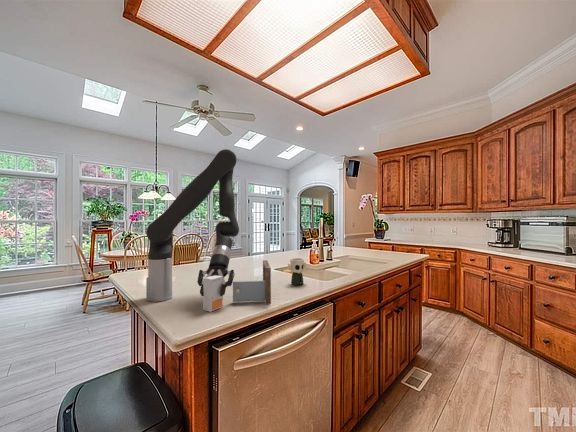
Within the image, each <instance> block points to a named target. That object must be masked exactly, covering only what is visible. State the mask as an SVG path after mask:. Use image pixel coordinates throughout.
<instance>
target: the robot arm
mask: <svg viewBox="0 0 576 432" xmlns="http://www.w3.org/2000/svg"><path fill="white" fill-rule="evenodd" d="M236 164H237V156H236V153H235V152H234V151H233V150H231V149H229V148H228V149H227V148H224V149H222V150H220V151H218V152H217V154H216V155H215V156H214V158H213V159H212V160H211V162H210V163H209V165H207V167H206V168H205V169H203V171H202V172H200V173H198V175H197V176H196V177H194V179H192V181H191V182H190V183H189V184H188V185H187V186H185V187H184V189H182V191H181V192H180V193H179V194H178V195H177V196H176V198H175V199H174V200H173V201H172V202H171V204H170V206H168V207H167V209H166V210H165V211H164V212H163V213H162V214H161V215H160V216H158V217H157V218H155V220H153V221H152V222H151V223H150V224H149V225H148V226H147V228H146V233H145V234H146V237H147V239H148V240H149V249H148V252H147V271H148V272H147V277H146V279H145V280H146V284H145V288H146V289H145V290H146V291H145V292H146V296H145V297H146V302H154V303H155V302H162V301H163V302H164V301H167V300H168V301H169V300H170V299H172V298H173V250H174V249H173V248H174V246H173V244H174V230H175V229H176V227H178V226H179V224H180V223H181V222H182V221H183V220H184V219H185V218H186V217H187V216H189V215H190V214H191V213H192V212H193V211H195V210H196V209H197V208H198V207H199V206H200V205H201V204H202V203H203V202H204V201H205V199H206V198H208V196H209V194H210V193H211V192H212V190H213V189H214V187H215V186H216V185H217V184H218V213H219V216H220V217H224V218H228V219H229V221H219V222H218V223H217V224H216V225H215V234H216V236H215V237H216V238H215V244H214V248H213V250H212V252H211V253H212V254H211V256H210V260H209V264H208V268H207V269H206V270H203V269H200V270H199V271H198V276H197V282H196V283H197V285H198V286H199V287H200V289H199V294H200V295H201V297H203V278H206V277H210V276H214V275H217V276H223V281H222V285H221V290H220V296H222V297H223V296H224V295H225V294H226V289H227V287H231V286H233V281H234V279H235V275H236V274H235V270H234V269H230V270H228V269H229V268H228V267H229V265H230V260H231V253H232V252H231V251H232V247H233V240H232V238H235V237H237V236H238V235H239V233H240V227H239V223H238V220H237V217H236V211H235V209H236V208H235V193H234V187H233V185H234V184H233V176H234V168H235V167H236ZM227 275H228V278H227V281H226V280H225V277H226V276H227Z"/></svg>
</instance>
